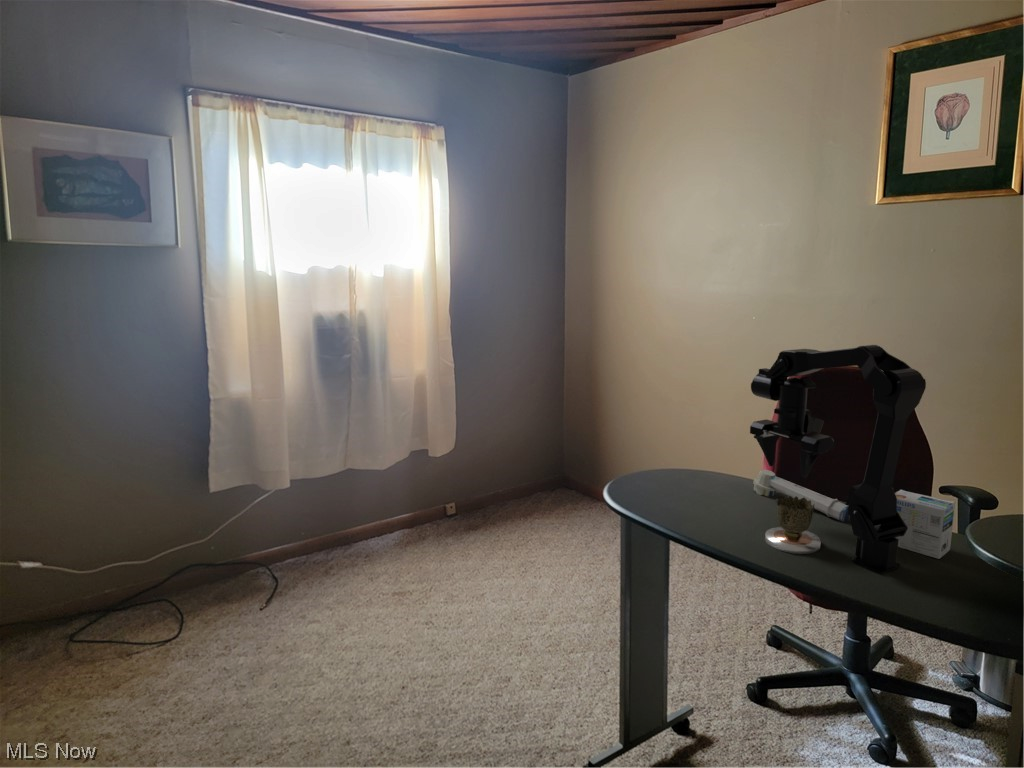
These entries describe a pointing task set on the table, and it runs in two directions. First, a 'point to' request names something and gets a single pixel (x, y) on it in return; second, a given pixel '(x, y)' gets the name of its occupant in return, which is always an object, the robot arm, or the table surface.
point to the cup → (794, 515)
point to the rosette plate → (792, 541)
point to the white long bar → (799, 494)
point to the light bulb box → (925, 523)
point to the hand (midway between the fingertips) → (787, 471)
